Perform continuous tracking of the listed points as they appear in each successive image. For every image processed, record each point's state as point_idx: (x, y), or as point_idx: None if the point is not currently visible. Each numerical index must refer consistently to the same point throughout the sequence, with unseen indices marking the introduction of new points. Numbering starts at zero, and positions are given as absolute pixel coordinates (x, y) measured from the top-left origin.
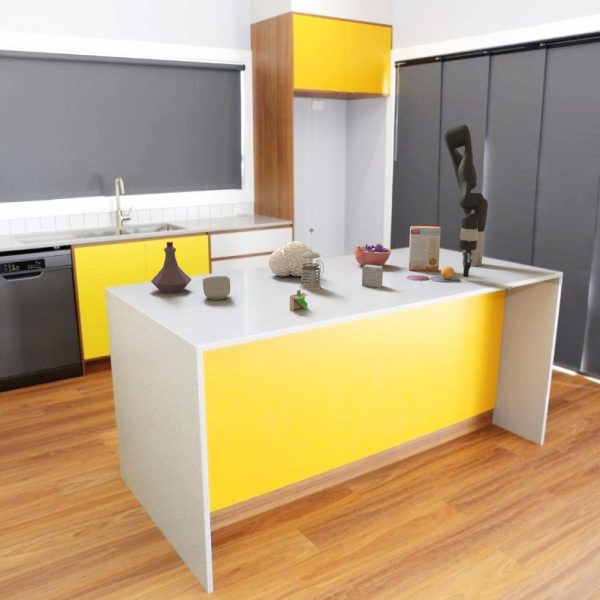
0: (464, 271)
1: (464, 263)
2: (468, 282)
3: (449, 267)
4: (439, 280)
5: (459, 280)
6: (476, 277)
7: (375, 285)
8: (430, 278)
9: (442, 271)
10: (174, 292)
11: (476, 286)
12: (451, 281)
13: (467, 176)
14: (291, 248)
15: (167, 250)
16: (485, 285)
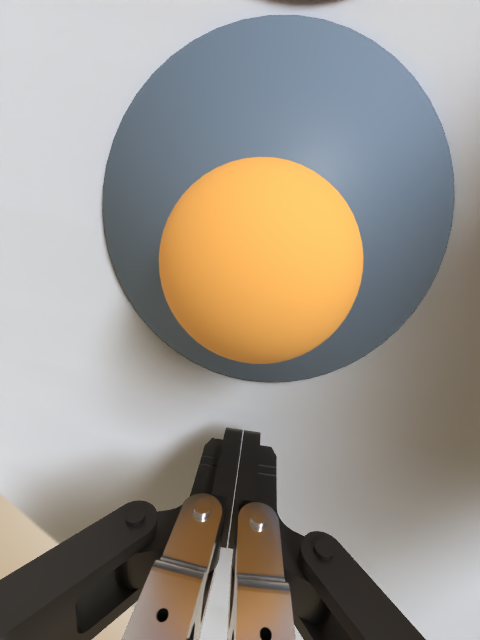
0: (216, 475)
1: (152, 577)
2: (154, 426)
3: (205, 302)
4: (172, 139)
5: (207, 367)
6: (363, 535)
7: None
8: (280, 15)
9: (211, 172)
10: None
11: (20, 446)
12: (143, 277)
13: None
14: None
15: None
16: (74, 513)
